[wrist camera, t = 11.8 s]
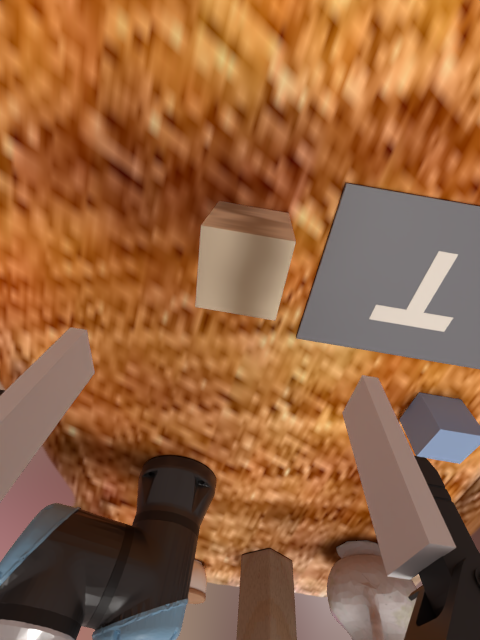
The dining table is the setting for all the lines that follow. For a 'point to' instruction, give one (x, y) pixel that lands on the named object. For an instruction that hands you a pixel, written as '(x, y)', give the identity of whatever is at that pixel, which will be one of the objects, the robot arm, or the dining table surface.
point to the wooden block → (266, 597)
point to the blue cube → (440, 428)
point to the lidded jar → (197, 584)
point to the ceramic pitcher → (368, 594)
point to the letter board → (399, 278)
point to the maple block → (244, 260)
